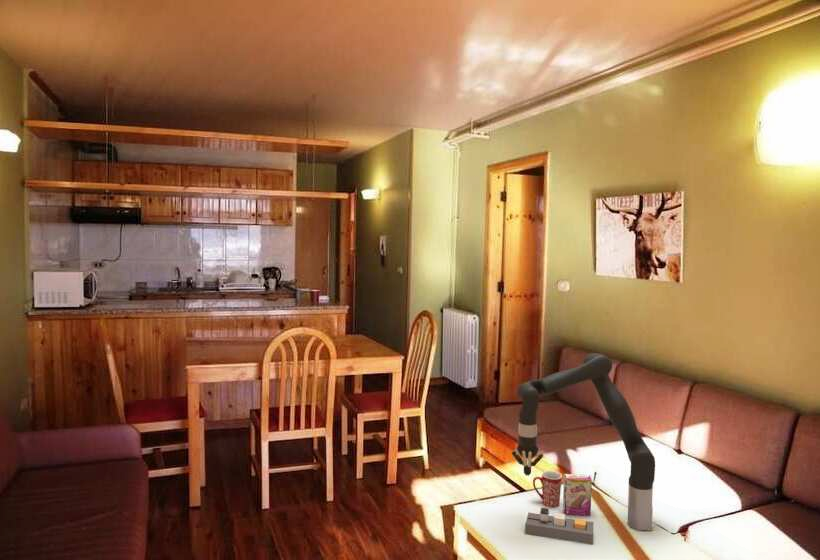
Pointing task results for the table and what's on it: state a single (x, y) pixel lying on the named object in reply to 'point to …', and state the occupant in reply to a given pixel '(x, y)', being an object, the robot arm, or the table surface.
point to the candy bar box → (577, 494)
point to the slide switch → (544, 514)
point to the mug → (550, 488)
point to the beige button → (559, 519)
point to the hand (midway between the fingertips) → (527, 474)
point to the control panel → (558, 529)
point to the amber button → (580, 524)
